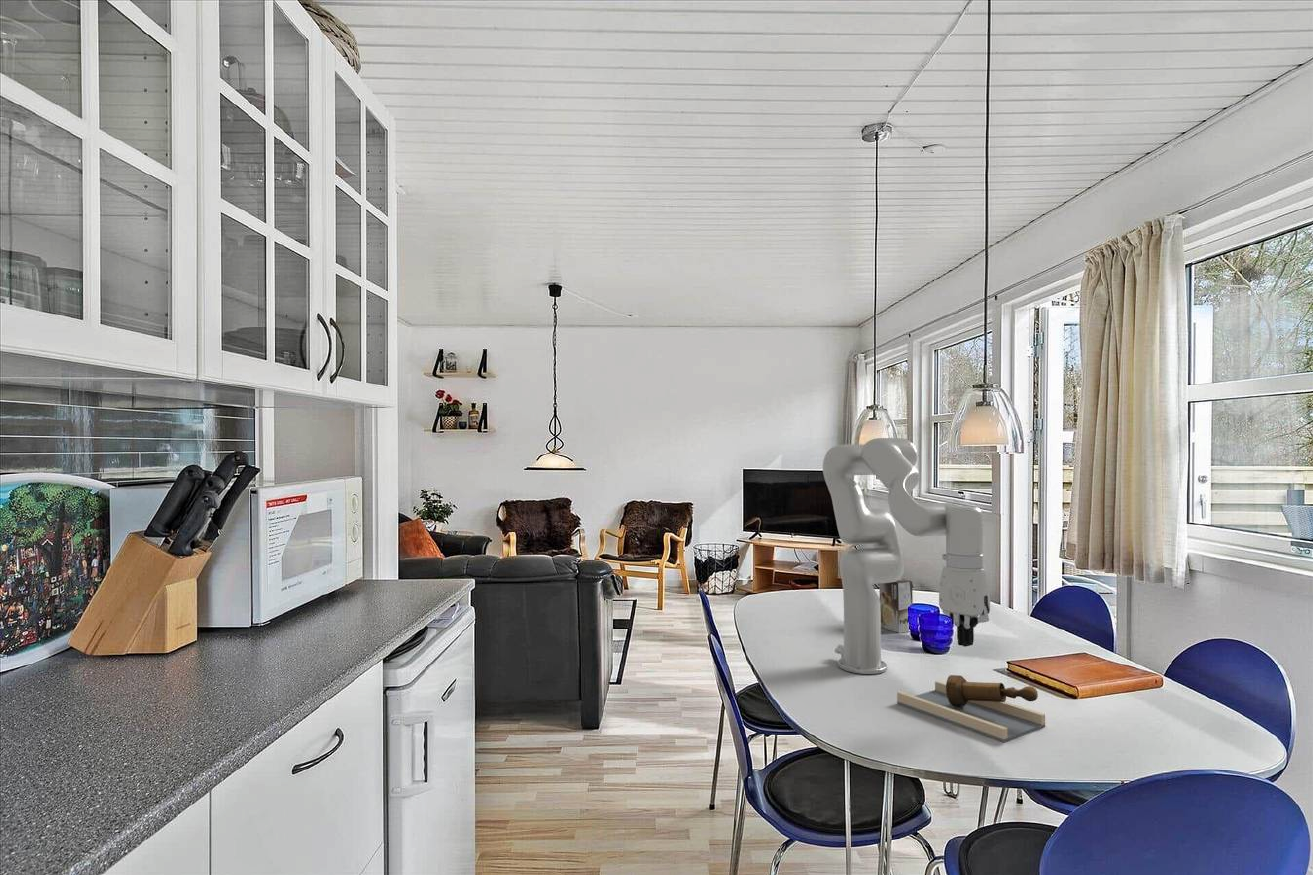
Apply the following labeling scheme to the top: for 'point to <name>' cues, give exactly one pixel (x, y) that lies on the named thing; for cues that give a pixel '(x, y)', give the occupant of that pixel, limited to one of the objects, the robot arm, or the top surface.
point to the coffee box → (895, 605)
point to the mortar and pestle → (983, 691)
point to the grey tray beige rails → (976, 714)
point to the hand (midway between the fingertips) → (965, 644)
